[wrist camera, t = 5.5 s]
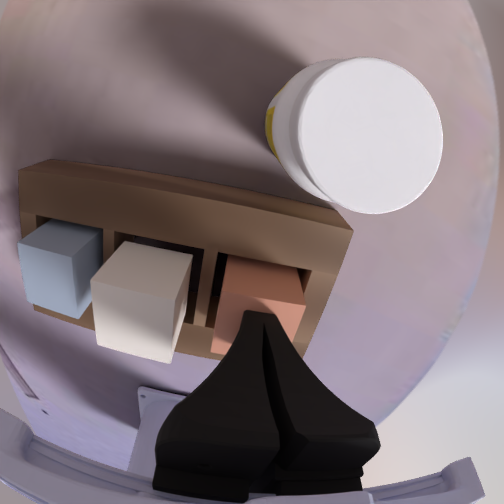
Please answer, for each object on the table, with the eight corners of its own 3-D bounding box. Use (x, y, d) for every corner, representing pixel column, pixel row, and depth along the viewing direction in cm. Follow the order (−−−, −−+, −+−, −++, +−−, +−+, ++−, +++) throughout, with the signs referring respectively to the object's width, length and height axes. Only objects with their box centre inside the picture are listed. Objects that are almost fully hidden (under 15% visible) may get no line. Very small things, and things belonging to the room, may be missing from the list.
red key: (278, 316, 17) (283, 363, 13) (218, 305, 16) (210, 352, 13) (295, 263, 15) (306, 305, 12) (229, 250, 15) (222, 290, 12)
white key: (185, 313, 15) (170, 363, 12) (124, 298, 15) (97, 344, 11) (193, 254, 14) (174, 300, 10) (124, 241, 13) (90, 280, 10)
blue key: (106, 281, 16) (78, 319, 12) (60, 268, 15) (27, 301, 12) (106, 226, 14) (71, 257, 11) (56, 215, 14) (17, 242, 11)
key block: (291, 338, 19) (296, 371, 17) (55, 286, 18) (34, 310, 15) (336, 210, 16) (353, 231, 13) (49, 159, 14) (18, 170, 11)
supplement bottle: (328, 187, 15) (396, 260, 8) (247, 145, 14) (239, 176, 7) (371, 111, 13) (477, 117, 6) (291, 64, 12) (335, 6, 5)
